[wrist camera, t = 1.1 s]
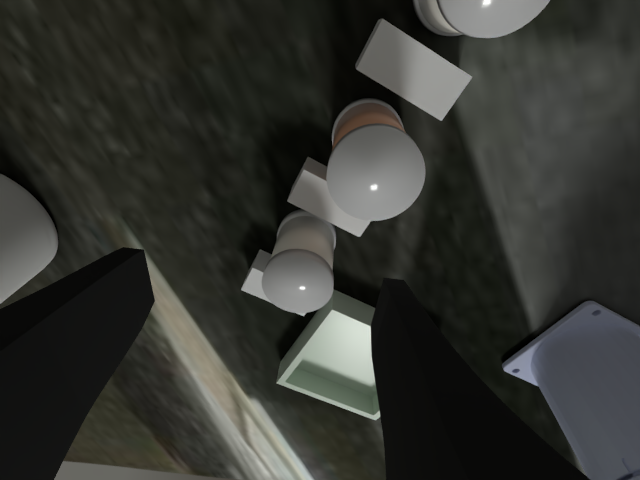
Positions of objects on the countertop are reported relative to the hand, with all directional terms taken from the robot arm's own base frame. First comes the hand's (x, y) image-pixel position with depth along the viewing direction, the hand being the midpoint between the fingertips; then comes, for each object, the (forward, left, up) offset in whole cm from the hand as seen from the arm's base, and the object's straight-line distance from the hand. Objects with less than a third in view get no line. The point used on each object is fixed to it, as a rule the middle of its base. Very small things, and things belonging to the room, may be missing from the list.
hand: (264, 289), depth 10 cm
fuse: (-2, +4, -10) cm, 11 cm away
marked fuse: (-2, -3, -10) cm, 11 cm away
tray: (-10, +11, -10) cm, 18 cm away
